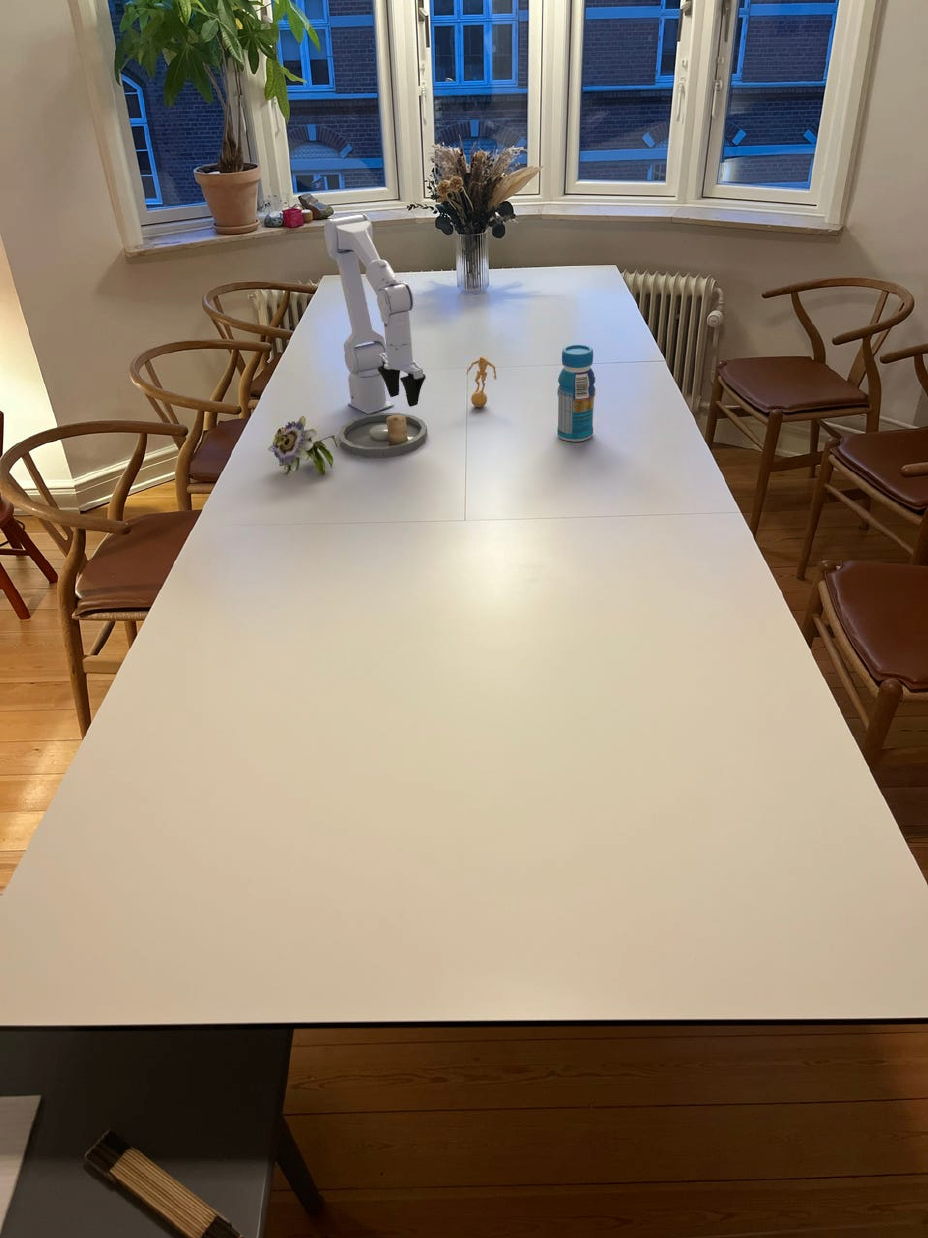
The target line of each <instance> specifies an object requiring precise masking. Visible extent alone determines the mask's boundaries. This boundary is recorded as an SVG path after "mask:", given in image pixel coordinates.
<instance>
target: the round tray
mask: <svg viewBox="0 0 928 1238" xmlns="http://www.w3.org/2000/svg"><path fill="white" fill-rule="evenodd" d="M392 415H403V416H405V417H406V425H407V436H408V441H407V442H404V443H401V444H398V445H392V446H390V445H389V440H388V430H387V420H386V419H387V418H388V417H389V416H392ZM428 435H429V434H428V426H427V425H426V423H425V421H424V420H423V419H421V418H419V417H417V416H415V415H411V414H408V413H402V412H378V413H371V414H365V415H362V416H360V417H358V418H353V419H351V420H350V421H348V422H347V423H345V424H344V425H342V426H341V427H340V429H339V431H338V433H337V437H338V444H339V446H340V448H341V449H342V450H343V451H345V452H347V453H348V454H350V455H353V456H358V457H363V458H383V459H384V458H389V457H394V456H395V457H396V456H401V455H404V454H407V453H410V452H412V451H415V450H417V449H418V448H420V447H421V446H422V445H424V444H425V443H426V441H427V437H428Z"/></svg>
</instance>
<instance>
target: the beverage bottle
mask: <svg viewBox="0 0 928 1238" xmlns="http://www.w3.org/2000/svg"><path fill="white" fill-rule="evenodd" d="M593 363H594V349H593V348H592V347H591V346H589V345H585V344H571V345H567V346H564V347H563V349H562V352H561V364H562V366H563V368H562V369H561V371H560V372H559V375H558V379H557V382H558V384H559V386H558V387H557V391H556V393H557V394H556V395H557V398H558V399H557V400H558V407H557V409H558V411H557V413H558V414H557V431H556V434H557V436H558V437H559V438H560V439H561V440H564V441H565V442H574V443H577V442H584V441H587V440H589V439H591V438H592V437H593V434H594V408H595V407H594V406H595V396H596V387H595V383H596V375H595V372H594V371H593V369H592V368H591V367H592V366H593Z"/></svg>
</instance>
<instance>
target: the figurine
mask: <svg viewBox="0 0 928 1238" xmlns="http://www.w3.org/2000/svg"><path fill="white" fill-rule="evenodd" d="M476 364H477V365H478V367H479V370H478V371H477V372H476V377H475V379H474V382H475V383H476V385H477V387H476V389H475V391H474V392H473V393H472V395H471V396H470V400H471V404H472V405H473V406H474V407H475V408H483V407H484V406H485V405H486V404H487V401H488V395H487V393H485V392H484V390H485V385H486V382H485V381H486V379H487V375H488V372H487V371H486V370H487V367H488V366H490V367H491V368H492V370H493V374H494V376H493V380H497V373H496V372H497V371H496V366H495V365H494V364H493V363H492V362H490V360H489V359H488V358H487V357H485V356H484V357H483V356H480V357H479V359H477V360H476V361H473V362H472V363H471V365H470V366H469V367H468V369H467V371H466V376H467V375H468V373H469V371H470V370H471V369H472V368H473V367H474V365H476ZM479 380H481V382H479ZM480 384H482V388H481V390H480Z"/></svg>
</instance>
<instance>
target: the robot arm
mask: <svg viewBox="0 0 928 1238" xmlns="http://www.w3.org/2000/svg"><path fill="white" fill-rule="evenodd" d="M371 221H372V220H370V217H369V216H367V214H366V213H360V214H357V215H352V216H351V215H350V216H344V217H338V218H328V219H326V221H325V223H324V228H323V234H324V239H325V243H326V244H325V245H326V250H327V253H328V255H329V258H330V259H332V260H335V261H336V264H337V267H338V272H339V277H340V282H341V286H342V290H343V294H344V295H343V296H344V300H345V304H346V309H347V313H348V318H349V323H350V328H351V333H350V335H348V337H347V339H346V340H345V341H344V342H343V350H344V351H343V352H344V362H345V366H346V368H347V370H348V372H349V373H348V374H349V375H348V378H347V380H348V381H347V382H348V389H349V396H350V401H347V404H348V406H351V407H353V408H354V409H357V410H359V411H361V412H363V413H364V414H365V415H371V414H375V413H376V412H379V411H382V410H385V409H388V408H391V407H394V406H395V405H394V403H393V402H391V401H388V400H387V396H386V395H387V394H386V389H387V392H388V395H389V397H390V398H394V397H396V396H400V382H401V383H402V385H403V388H404V390H405V394H406V401H407V405H408V407H412V408H413V407H414V406H417V405H418V404H419V399H420V393H421V390H422V386H423V384H424V382H425V380H426V378H427V377H426V374H424V371H423V370H424V369H423V367H420V366H419V365H418V363H417V362H416V361H415V360H414V357H413V345H412V344H413V343H412V342H413V341H412V332H411V331H412V330H411V329H412V328H411V318H410V311H412V310H413V307H414V296H413V292H412V290H411V287H410V286H409V283H407V282H404V281H403V280H399V278H398V277H397V275H396V273H395V272H394V270H393V268H392V267H391V265H390V263H389V262H388V261H386V259H381V257H380V255H379V252H378V250H377V249H376V247H375V245H374V242H373V235H374V232H373V225H372V222H371ZM359 260H360V261H361V263H362V264H363V266H364V267H365V268H366V269H365V277H366V279H367V281H368V283H369V285H370V286H371V288H372V289H373V291H374V293H375V295H376V302H377V303H376V304H377V307H378V309H379V313H380V319H381V321H382V323H383V326H384V327H383V330H384V336H383V335H382V334H381V333H379V332H378V331H376V330H374V329H373V325H372V322H371V317H370V312H369V307H368V302H367V298H366V293H365V287H364V283H363V278H362V273H361V269H360V263H359ZM366 343H367V344H366ZM401 372H403V373H406V374H407V375H405V376H403V377H400V376H401Z"/></svg>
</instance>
